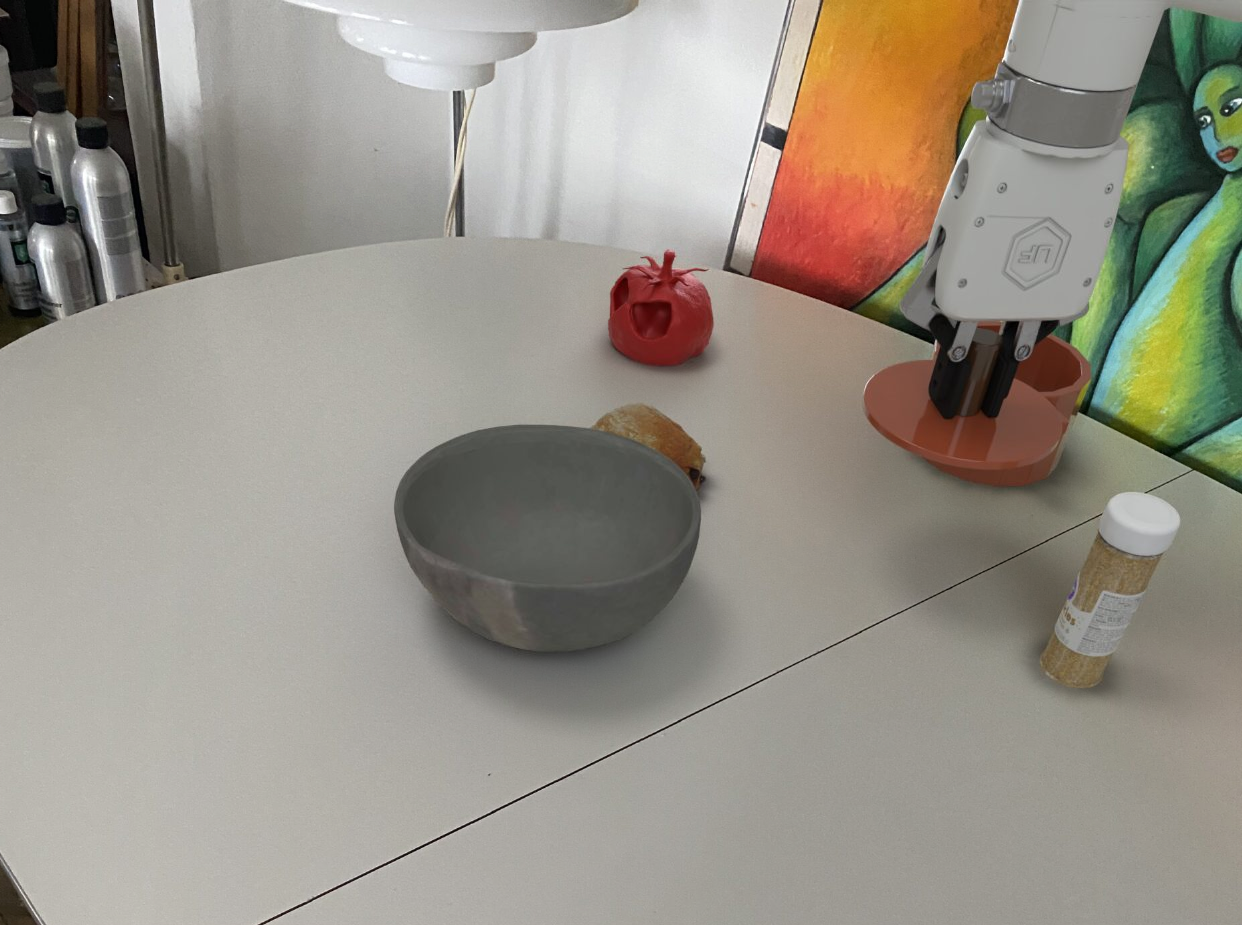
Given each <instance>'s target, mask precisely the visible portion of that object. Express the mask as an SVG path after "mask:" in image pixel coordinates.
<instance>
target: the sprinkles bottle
mask: <svg viewBox="0 0 1242 925" xmlns="http://www.w3.org/2000/svg"><path fill="white" fill-rule="evenodd" d="M1097 524H1098V526H1097V533H1096V535H1095V538H1094V540H1093V543H1092V545H1091V547H1090V549H1089V552H1088V553H1087V556H1086V558H1085V560H1084V563H1083V565H1082V567H1081V569H1080V570H1079V572H1078V574H1077V577H1076V579H1075V581H1074V583H1073V585H1072V588H1071V590H1070V592H1069V594H1068V596H1067V599H1066V600H1065V603H1064V605H1063V607H1062V609H1061V611H1060V614H1059V616H1058V618H1057V619H1056V622H1055V625H1054V630H1053V631H1052V634H1051V635H1050V637H1049V640H1048V643H1047V644H1046V646H1045V648H1044V651H1043V652H1041V654H1040V656H1039V659H1038V660H1039V661H1038V663H1039V667H1040V669H1041V670H1042V671H1043V673H1044V674H1045V675H1046V676H1047V677H1048V678H1049V679H1051V680H1053V681H1054V682H1056V683H1058V684H1061V685H1062V686H1065V687H1069V688H1075V689H1090V688H1093V687H1095V686H1096V685H1097V684H1100V682H1101V681H1102V680H1103V677H1104V673H1105V672H1104V671H1105V670H1106V668H1107V666H1108V665H1109V662H1110V660H1111V658H1112V657H1113V654H1114V652H1115V651H1116V650H1117V648H1118V647H1119V645H1120V643H1121V641H1122V639H1123V637H1124V635H1125V633H1126V631H1127V630H1128V627H1129V625H1130V623H1131V621H1132V620H1133V617H1134V615H1135V613H1136V611H1137V609H1138V607H1139V605H1140V603H1141V602H1142V600H1143V598H1144V596H1145V594H1146V592H1147V589H1148V587H1149V583H1150V581H1151V579H1152V576H1153V575H1154V574H1155V573H1154V572H1155V570H1156V569H1157V567H1158V565H1159V563H1160V560H1161V559H1162V556H1163V555H1164V554H1165V553H1166V552H1167V550H1168V549H1169V548H1170V547H1171V545H1172V543H1173V542H1174V539H1175V538H1176V535H1177V533H1178V531H1179V528H1180V526H1181V517H1180V513H1179V512H1178V510H1177V509H1176V508H1175V507H1173V505H1171V504H1170V503H1169V502H1168V501H1166V500H1164V499H1163V498H1160V497H1158V496H1155V495H1153V494H1149V493H1145V492H1139V491H1126V492H1121V493H1118V494H1116V495H1113V496H1112V497H1111V498H1110V499H1109V500H1108V502H1107V504H1106V505H1105V508H1104V510H1103V512H1102V514H1101V516H1100V518H1099V521H1098V523H1097Z"/></svg>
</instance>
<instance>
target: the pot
mask: <svg viewBox="0 0 1242 925" xmlns="http://www.w3.org/2000/svg"><path fill="white" fill-rule="evenodd" d="M1001 324H1002V321H979V322H978V325H977V328H981V329H988V330H991V331H994V332H996V333H998V334H999V331H1000V328H1001ZM977 328H976V329H977ZM939 348H940V345H939V343H938V342H937V340H936V339H935V341H934V344H933V347H932V351H931V354H930V358H929V360H936V359H937V355H938V352H939ZM1014 378H1015V379H1017V380H1019V381H1021V382H1023V383H1025V384H1027V385H1029V386H1030V387H1032V388H1033V389H1035V390H1036V391H1038V392H1039V393H1040V394H1042V395H1043V396H1044V397H1045V398H1046V399H1047V400H1048V401H1049V402H1050V403H1051V404H1052V405H1053V406H1054V408H1055V409H1056V410H1057V412H1058V414H1059V416H1060V418H1061V422H1062V434H1061V436H1060V439H1059V442H1058V444H1057V446H1056V447H1055V449H1054V450H1053V451H1052V452H1051V453H1050V454H1049V455H1048V456H1047V457H1045V458H1043V459H1042V460H1040V461H1038V462H1035V463H1033V464H1030V465H1026V466H1023V467H1018V468H1012V469H1001V470H982V469H970V468H963V467H957V466H952V465H947V464H943V463H940V462H936V461H932V460H929V459H927V458H924V457H921V458H922V459H923V460H924V461H926V462H927V463H929V464H930V465H931V466H933V467H935V468H936V469H937V470H939V471H940V472H943V473H945V474H948V475H950V476H952V477H956V478H958V479H961V480H963V481H964V482H965V481H966V482H969V483H974V484H980V485H986V486H992V487H999V488H1000V487H1022V486H1028V485H1031V484H1034V483H1037V482H1039V481H1042V480H1045V479H1047V478H1048V477H1049V476H1050V475H1052V473H1053V472H1054V470H1055V469H1056V468H1057V467H1058V465H1059V463H1060V459H1061V457H1062V455H1063V452H1064V449H1065V448H1066V444H1067V442H1068V440H1069V436H1070V434H1071V432H1072V430H1073V426H1074V424H1075V422H1076V419H1077V416H1078V414H1079V411H1080V409H1081V406H1082V403H1083V401H1084V398H1085V396H1086V393H1087V391H1088V389H1089V386H1090V383H1091V381H1092V379H1093V378H1092V369H1091V363H1090V362H1089V360H1087V358H1086V357H1085V356H1084V355H1083V353H1082V352H1081V351H1080V350H1079V349H1078V347H1075V346H1074V345H1072V344H1070V343H1069V342H1067V341H1065V340H1064V339H1062V338H1061V337H1058V336H1057V335H1055V334H1052V333H1051V334H1049V335H1048V336H1047V337H1045V338H1044V339H1043V340H1042V341H1040V342H1039V343H1038V344H1037V345H1035V346H1034V347H1033V350H1032V353H1031V355H1030V356H1029V357H1028V358H1027V359H1025V360H1023V361H1020V362H1019V365H1018V368H1017V371H1016V374H1015V377H1014Z"/></svg>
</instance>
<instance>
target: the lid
mask: <svg viewBox="0 0 1242 925" xmlns="http://www.w3.org/2000/svg"><path fill="white" fill-rule="evenodd" d="M1002 343H1003V338H1002V336H1001V335H999V334H998V333H996V332H994V331H991V330H988V329H981V328H977V329H976V331H975V334H974V336H973V339H972V342H971V345H970V348H969V350H968V353H967V356H966V358H967V359H968V360H969V362H970V363H971V369H970V373H969V376H968V379H967V382H966V385H965V388H964V392H963V395H962V398H961V401H960V404H959V407H958V411H957V414H956V416H955V417H953V418H952V419H944V418H943V417H942V415H941V414H940V412H939V411H938V409H937V408H936V406H935V405H934V403H933V402H932V400H931V399H930V396H929V393H928V388H929V383H930V379H931V376H932V372H933V369H934V366H935V362H936V360H930V359H919V360H910V361H904V362H900V363H896V364H893V365H890V366H887V367H885V368H883V369H881V370H879V371H877V372H876V373H874V374H873V375H872V376H871V377H870V378H869V379H868V381H867V382H866V384H865V385H864V389H863V393H862V397H861V407H862V410H863V413H864V415H865V418H866V420H867V421H868V422H869V423H870V425H871V426H872V427H873V428H874V429H875V430H876V432H878V433H879V434H880V435H881V436H883V437H884V438H885V439H887V440H888V441H889V442H891V443H893V444H894V445H896V446H898V447H899V448H901V449H903V450H905V451H907V452H909V453H912V454H913V455H916V456H918V457H920V458H922V457H924V458H927V459H929V460H932V461H936V462H940V463H943V464H947V465H952V466H957V467H963V468H970V469H982V470H1001V469H1012V468H1018V467H1023V466H1026V465H1030V464H1033V463H1035V462H1038V461H1040V460H1042V459H1043V458H1045V457H1047V456H1048V455H1049V454H1050V453H1051V452H1052V451H1053V450H1054V449H1055V447H1056V446H1057V444H1058V442H1059V439H1060V436H1061V434H1062V422H1061V418H1060V416H1059V414H1058V412H1057V410H1056V409H1055V408H1054V406H1053V405H1052V404H1051V403H1050V402H1049V401H1048V400H1047V399H1046V398H1045V397H1044V396H1043V395H1042V394H1040V393H1039V392H1038V391H1036V390H1035V389H1033V388H1032V387H1030V386H1029V385H1027V384H1025V383H1023V382H1021V381H1019V380H1017V379H1015V378H1014V380H1013V383H1012V385H1011V388H1010V391H1009V394H1008V396H1007V398H1006V399H1004V400H1003V403H1002V406H1001V409H1000V412H999V415H998V417H995V418H988V416H986V415H985V414H984V412H983V411H982V410H981V407H982V404H983V401H984V398H985V395H986V392H987V389H988V386H989V383H990V380H991V377H992V374H993V371H994V368H995V365H996V362H997V359H998V356H999V353H1000V349H1001V346H1002Z"/></svg>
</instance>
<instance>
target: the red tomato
mask: <svg viewBox="0 0 1242 925" xmlns="http://www.w3.org/2000/svg"><path fill="white" fill-rule="evenodd" d="M677 257H678V255H677V254H676V251H675V250H671V249H669V248H668V249H666V250H665V251H664V252H663V260H662V265H659V264H658V263H657V262H656V260H655V259H654V258H653V257H651V256H648V255H646V256H640V259H646V260H647V261H648V262H649V264H638V265H633V266H629V267H623V268H622V270H626V271H624V272H623V273H622V274H621V275H620V276H619V277H618V278H617V279H616V281H615V282H614V285H613V286H612V288H611V289H610V292H609V318H608V320H607V329H608V330H607V331H608V337H609V339H610V341H611V343H612V345H613V346H614V348H615V350H617V351H619V353H621V354H622V355H624V356H625V357H627V358H628V359H631V360H632V361H633V362H637V363H640V364H643V365H647V366H654V367H655V366H656V367H675V366H676V367H677V366H679V365H682V364H684V362H686V361H687V360H688V359H691V358H696V357H698V356H700V355H701V354H702V353H703V352H704V351H705V350H706V349H707V346H709V344H710V340H711V337H712V334H713V331H714V325H715V321H714V320H715V319H714V312H713V309H712V299H711V297H710V294H709V292H708V289H707V288H706V286H705V284H703V282H702V281H700V280H699V279H698V278H697V277H696V276H695V275H694V274H693V273H692V272H707V271H709V270H710V268H707V269H704V268H700V267H693V268H689V269H685V268H679V267H678V268H677V267H673V264H674V262H675V258H677Z"/></svg>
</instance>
